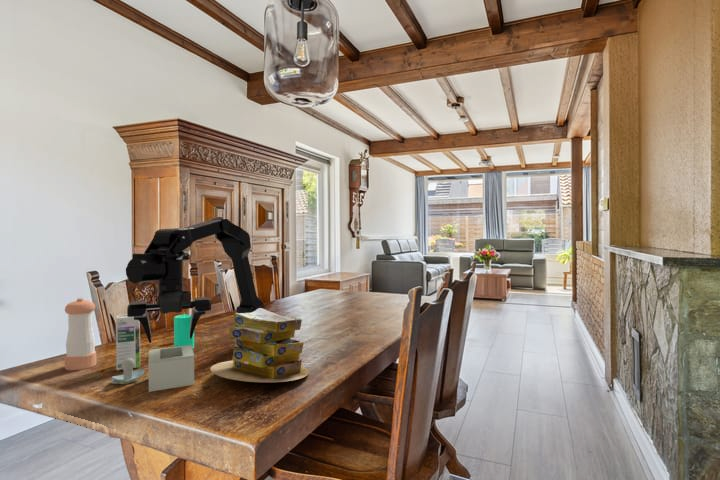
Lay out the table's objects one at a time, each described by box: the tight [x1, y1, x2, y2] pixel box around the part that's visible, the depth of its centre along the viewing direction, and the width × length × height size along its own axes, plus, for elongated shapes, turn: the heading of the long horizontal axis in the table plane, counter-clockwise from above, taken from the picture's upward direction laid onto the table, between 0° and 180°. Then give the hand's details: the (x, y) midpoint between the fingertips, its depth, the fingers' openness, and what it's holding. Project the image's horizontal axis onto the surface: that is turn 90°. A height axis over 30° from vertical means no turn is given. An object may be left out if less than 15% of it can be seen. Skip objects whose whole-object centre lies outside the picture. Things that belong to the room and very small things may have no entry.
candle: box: [173, 313, 195, 350], centre depth 130 cm, size 6×6×12 cm
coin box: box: [147, 345, 195, 393], centre depth 101 cm, size 10×10×7 cm
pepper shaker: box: [64, 297, 97, 371], centre depth 112 cm, size 7×7×19 cm
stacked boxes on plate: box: [210, 308, 310, 383], centre depth 104 cm, size 25×25×17 cm
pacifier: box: [110, 358, 145, 385], centre depth 101 cm, size 7×6×6 cm
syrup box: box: [115, 313, 141, 371], centre depth 112 cm, size 6×6×14 cm
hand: (170, 340), depth 101 cm, fingers open, 9 cm apart
